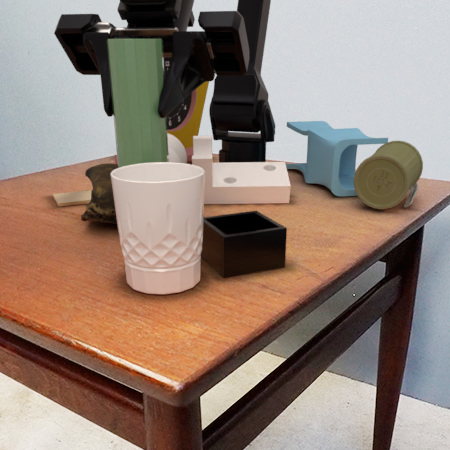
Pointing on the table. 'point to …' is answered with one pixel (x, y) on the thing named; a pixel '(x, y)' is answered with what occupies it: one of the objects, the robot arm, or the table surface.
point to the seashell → (101, 195)
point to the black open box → (243, 243)
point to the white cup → (160, 224)
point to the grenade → (389, 175)
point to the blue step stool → (331, 155)
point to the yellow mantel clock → (186, 116)
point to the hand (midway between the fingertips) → (133, 114)
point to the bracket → (240, 178)
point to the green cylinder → (137, 100)
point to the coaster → (72, 198)
